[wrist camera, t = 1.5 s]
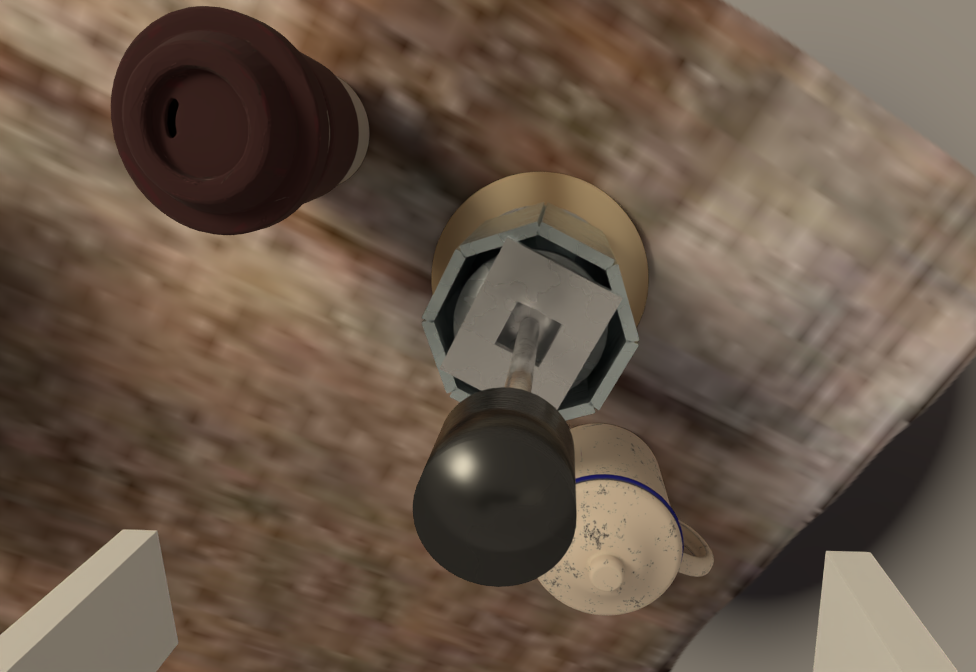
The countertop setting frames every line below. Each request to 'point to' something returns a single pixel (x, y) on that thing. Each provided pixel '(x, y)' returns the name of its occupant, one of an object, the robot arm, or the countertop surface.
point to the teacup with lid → (622, 528)
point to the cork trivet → (563, 195)
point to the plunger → (503, 462)
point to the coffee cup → (231, 121)
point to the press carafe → (544, 289)
